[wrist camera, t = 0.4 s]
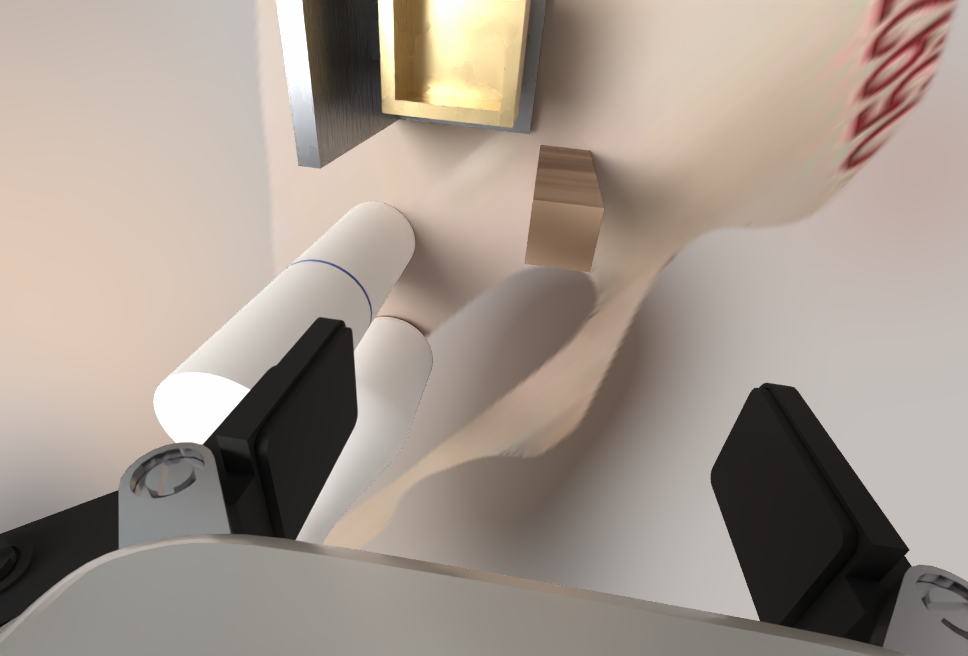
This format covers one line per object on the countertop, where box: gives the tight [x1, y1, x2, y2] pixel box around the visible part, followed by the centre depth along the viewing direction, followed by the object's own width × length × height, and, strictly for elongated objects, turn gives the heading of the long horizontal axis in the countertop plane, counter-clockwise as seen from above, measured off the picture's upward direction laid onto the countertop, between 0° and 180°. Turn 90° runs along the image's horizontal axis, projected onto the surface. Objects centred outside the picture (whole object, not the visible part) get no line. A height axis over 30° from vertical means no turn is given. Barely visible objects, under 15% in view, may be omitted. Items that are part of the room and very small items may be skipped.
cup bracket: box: [276, 0, 547, 168], centre depth 28 cm, size 12×12×16 cm
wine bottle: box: [296, 317, 433, 544], centre depth 39 cm, size 10×10×30 cm
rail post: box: [525, 145, 605, 272], centre depth 33 cm, size 4×4×14 cm
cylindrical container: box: [154, 201, 415, 444], centre depth 34 cm, size 7×7×25 cm
